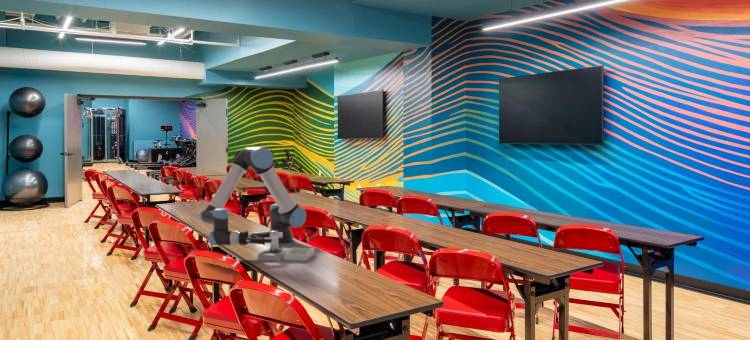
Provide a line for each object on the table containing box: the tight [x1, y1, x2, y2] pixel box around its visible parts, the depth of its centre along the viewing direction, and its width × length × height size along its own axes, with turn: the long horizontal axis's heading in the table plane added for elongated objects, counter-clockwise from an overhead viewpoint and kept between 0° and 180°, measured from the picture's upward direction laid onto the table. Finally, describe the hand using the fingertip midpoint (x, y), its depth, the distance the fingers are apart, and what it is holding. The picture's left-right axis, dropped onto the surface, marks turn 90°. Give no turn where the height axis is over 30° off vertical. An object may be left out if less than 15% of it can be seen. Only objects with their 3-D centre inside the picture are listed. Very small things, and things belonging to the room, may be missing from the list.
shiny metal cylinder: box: [269, 230, 280, 253], centre depth 258 cm, size 4×4×14 cm
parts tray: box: [283, 247, 315, 263], centre depth 255 cm, size 14×12×4 cm
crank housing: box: [257, 245, 291, 262], centre depth 258 cm, size 16×12×5 cm
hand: (280, 237), depth 258 cm, fingers open, 13 cm apart
